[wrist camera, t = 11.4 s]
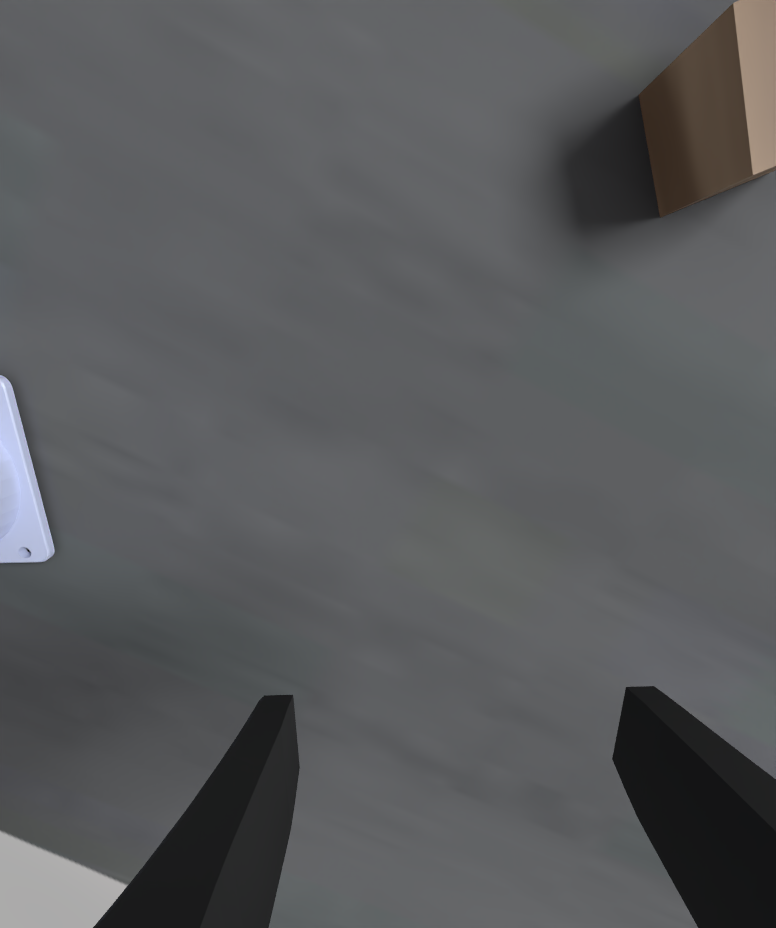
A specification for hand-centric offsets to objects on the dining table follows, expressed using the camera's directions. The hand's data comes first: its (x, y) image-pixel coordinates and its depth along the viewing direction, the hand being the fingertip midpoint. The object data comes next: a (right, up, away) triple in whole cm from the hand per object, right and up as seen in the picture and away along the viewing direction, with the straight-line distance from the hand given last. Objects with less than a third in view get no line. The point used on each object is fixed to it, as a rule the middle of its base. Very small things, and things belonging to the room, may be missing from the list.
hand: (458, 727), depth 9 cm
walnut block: (+10, +17, +6) cm, 21 cm away
